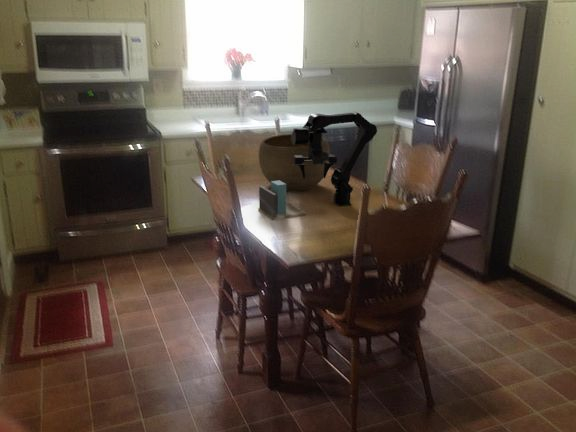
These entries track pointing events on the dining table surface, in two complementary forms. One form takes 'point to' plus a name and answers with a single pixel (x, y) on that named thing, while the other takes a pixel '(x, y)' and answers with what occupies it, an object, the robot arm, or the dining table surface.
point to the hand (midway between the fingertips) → (314, 178)
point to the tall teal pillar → (279, 196)
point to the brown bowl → (289, 163)
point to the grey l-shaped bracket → (269, 206)
